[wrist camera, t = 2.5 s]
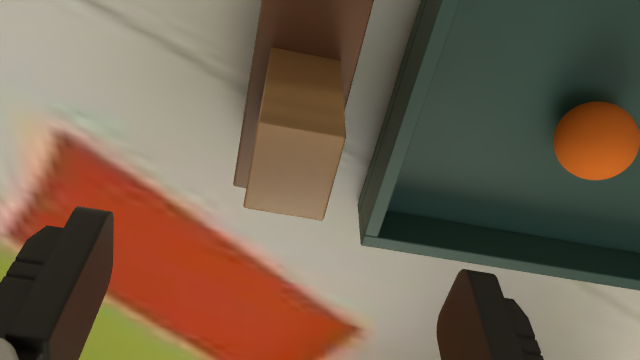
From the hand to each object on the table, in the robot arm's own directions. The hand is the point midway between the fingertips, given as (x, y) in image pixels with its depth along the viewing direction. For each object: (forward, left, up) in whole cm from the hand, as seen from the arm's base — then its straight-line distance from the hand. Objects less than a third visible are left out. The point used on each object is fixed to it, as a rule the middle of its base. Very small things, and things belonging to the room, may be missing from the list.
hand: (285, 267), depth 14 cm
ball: (0, +12, -9) cm, 15 cm away
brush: (0, 0, -12) cm, 12 cm away
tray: (0, +13, -12) cm, 17 cm away
